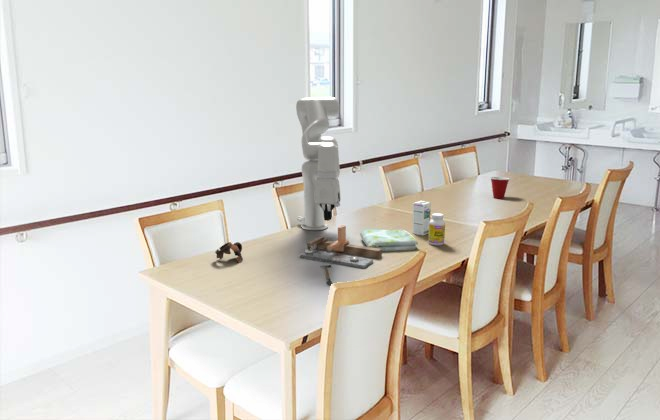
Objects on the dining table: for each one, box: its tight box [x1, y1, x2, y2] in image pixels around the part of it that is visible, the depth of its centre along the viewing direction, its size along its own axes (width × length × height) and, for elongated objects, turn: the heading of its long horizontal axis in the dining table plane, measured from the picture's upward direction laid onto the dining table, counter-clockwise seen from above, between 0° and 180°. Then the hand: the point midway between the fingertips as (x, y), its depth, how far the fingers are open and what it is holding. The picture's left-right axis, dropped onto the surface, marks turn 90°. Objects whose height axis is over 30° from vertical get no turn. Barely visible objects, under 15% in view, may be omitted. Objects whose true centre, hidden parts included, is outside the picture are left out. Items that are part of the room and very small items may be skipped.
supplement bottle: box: [428, 212, 446, 246], centre depth 245 cm, size 7×7×13 cm
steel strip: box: [299, 248, 374, 269], centre depth 226 cm, size 28×8×2 cm, turn 62°
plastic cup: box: [490, 176, 510, 200], centre depth 332 cm, size 11×11×12 cm
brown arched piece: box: [214, 241, 244, 264], centre depth 227 cm, size 12×10×8 cm
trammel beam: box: [306, 236, 383, 259], centre depth 231 cm, size 28×14×5 cm, turn 62°
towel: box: [359, 228, 419, 252], centre depth 246 cm, size 18×21×5 cm
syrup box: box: [412, 200, 431, 236], centre depth 260 cm, size 6×6×14 cm
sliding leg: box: [326, 224, 350, 253], centre depth 232 cm, size 4×14×10 cm, turn 152°
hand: (327, 219), depth 236 cm, fingers closed
